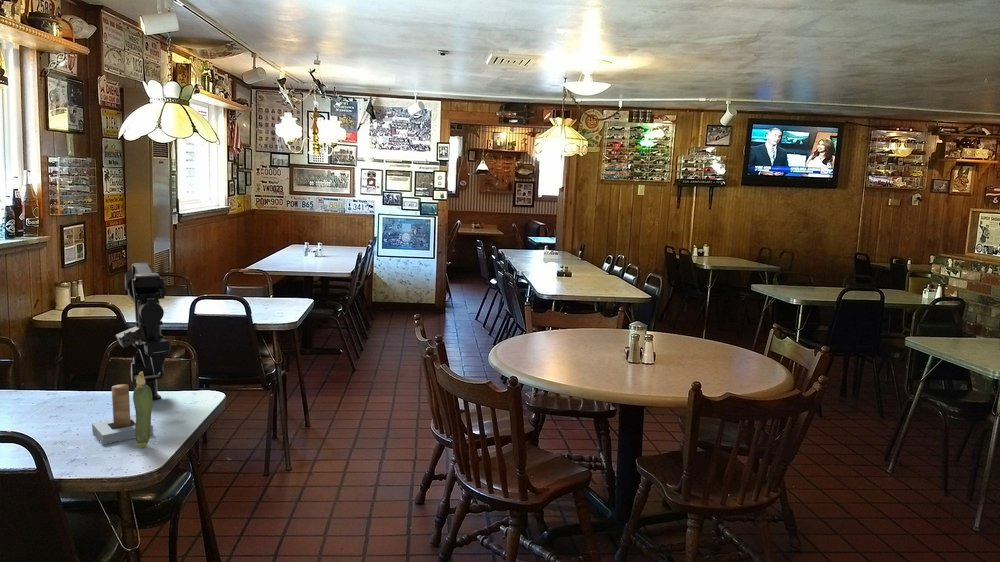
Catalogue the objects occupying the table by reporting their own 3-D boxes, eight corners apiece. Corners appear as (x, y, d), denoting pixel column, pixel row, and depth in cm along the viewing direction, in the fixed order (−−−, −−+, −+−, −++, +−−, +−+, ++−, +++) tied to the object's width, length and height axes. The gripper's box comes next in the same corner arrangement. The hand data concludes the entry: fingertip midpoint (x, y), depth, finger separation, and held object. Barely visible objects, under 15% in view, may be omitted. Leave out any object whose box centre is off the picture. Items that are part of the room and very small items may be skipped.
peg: (111, 434, 190) (108, 387, 188) (125, 430, 193) (122, 383, 191) (120, 437, 188) (117, 389, 186) (134, 432, 191) (131, 385, 189)
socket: (92, 432, 191) (91, 423, 191) (140, 423, 199) (140, 414, 198) (102, 444, 182) (102, 435, 182) (153, 434, 190) (152, 425, 189)
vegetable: (136, 444, 182) (132, 368, 180) (155, 442, 184) (151, 367, 181) (134, 450, 178) (130, 373, 176) (153, 448, 180) (150, 371, 177)
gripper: (109, 316, 204) (112, 368, 206) (126, 325, 190) (129, 382, 192) (151, 312, 212) (153, 363, 214) (170, 321, 198) (172, 375, 200)
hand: (151, 370), depth 205 cm, fingers open, 9 cm apart
